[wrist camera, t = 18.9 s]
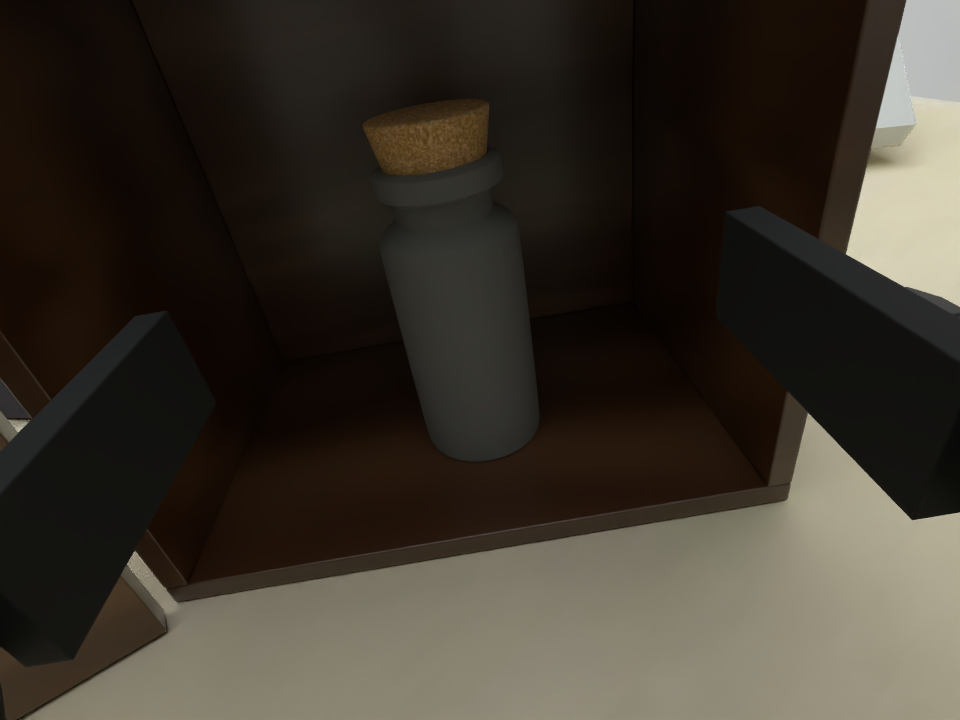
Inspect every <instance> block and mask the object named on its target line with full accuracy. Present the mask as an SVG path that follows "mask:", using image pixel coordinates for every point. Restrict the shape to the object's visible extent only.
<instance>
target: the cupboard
mask: <svg viewBox="0 0 960 720" xmlns="http://www.w3.org/2000/svg"><path fill="white" fill-rule="evenodd" d="M905 3H906V0H0V379H1V381H2V382H3V383H4V384H5V386H6V387H7V388H8V390H9V391H10V392H11V393H12V395H13V396H14V397H15V398H16V400H17V401H18V402H19V404H20V405H21V406H22V407H23V409H24V410H25V411H26V412H27V414H28V415H29V416H30V418H31V419H33V418H34V417H35V416H36V415H37V414H38V413H39V412H40V411H41V410H42V409H43V408H44V407H45V406H46V405H47V404H48V403H49V402H50V401H51V400H52V399H53V398H54V397H55V396H56V395H57V394H58V393H59V392H60V391H61V390H62V389H63V388H64V387H65V386H66V385H67V384H68V383H69V382H70V381H71V380H72V379H73V378H74V377H75V376H76V375H77V374H78V373H79V372H80V371H81V370H82V369H83V368H84V367H85V366H86V365H87V364H88V363H89V362H90V361H91V360H92V359H93V358H94V357H95V356H96V355H97V354H98V353H99V352H100V351H101V350H102V349H103V348H104V347H105V346H106V345H107V344H108V343H109V342H110V341H111V340H112V339H113V338H114V337H115V336H116V335H117V334H118V333H119V332H120V331H121V330H122V329H123V328H124V327H125V326H126V325H127V324H128V323H129V322H130V321H131V320H132V319H133V318H134V317H135V316H139V315H145V314H151V313H156V312H162V311H168V313H169V315H170V317H171V319H172V321H173V322H174V324H175V326H176V328H177V330H178V332H179V334H180V335H181V337H182V339H183V341H184V343H185V345H186V347H187V348H188V350H189V352H190V354H191V356H192V358H193V360H194V361H195V363H196V365H197V367H198V369H199V371H200V373H201V374H202V376H203V378H204V380H205V382H206V384H207V386H208V387H209V389H210V391H211V393H212V395H213V397H214V399H215V401H216V402H217V404H216V406H215V407H214V409H213V411H212V413H211V415H210V416H209V418H208V420H207V422H206V424H205V425H204V427H203V429H202V431H201V432H200V434H199V436H198V438H197V440H196V441H195V443H194V445H193V447H192V449H191V450H190V452H189V454H188V456H187V458H186V459H185V461H184V463H183V465H182V466H181V468H180V470H179V472H178V474H177V475H176V477H175V479H174V481H173V483H172V484H171V486H170V488H169V490H168V491H167V493H166V495H165V497H164V499H163V500H162V502H161V504H160V506H159V508H158V509H157V511H156V513H155V515H154V517H153V518H152V520H151V522H150V524H149V525H148V527H147V529H146V531H145V533H144V534H143V536H142V538H141V540H140V542H139V543H138V545H137V547H136V549H135V551H136V552H137V553H138V555H139V556H140V557H141V559H142V560H143V561H144V562H145V564H146V565H147V566H148V567H149V569H150V570H151V571H152V572H153V574H154V575H155V576H156V578H157V579H158V580H159V581H160V583H161V584H162V585H163V586H164V588H166V590H167V591H168V592H169V594H170V595H171V596H172V597H173V599H174V600H175V601H177V602H179V601H185V600H191V599H197V598H203V597H208V596H214V595H220V594H226V593H232V592H238V591H244V590H250V589H256V588H262V587H268V586H274V585H280V584H286V583H292V582H298V581H304V580H310V579H316V578H322V577H328V576H334V575H340V574H346V573H352V572H358V571H364V570H370V569H376V568H382V567H388V566H394V565H400V564H406V563H411V562H417V561H423V560H429V559H435V558H441V557H447V556H453V555H459V554H465V553H471V552H477V551H483V550H489V549H495V548H501V547H507V546H513V545H519V544H525V543H531V542H537V541H543V540H549V539H555V538H561V537H567V536H573V535H579V534H585V533H591V532H597V531H603V530H609V529H614V528H620V527H626V526H632V525H638V524H644V523H650V522H656V521H662V520H668V519H674V518H680V517H686V516H692V515H698V514H704V513H710V512H716V511H722V510H728V509H734V508H740V507H746V506H752V505H758V504H764V503H770V502H776V501H782V500H786V499H787V498H788V493H789V489H790V485H791V484H790V483H791V481H792V477H793V473H794V469H795V464H796V460H797V456H798V452H799V448H800V443H801V439H802V435H803V431H804V427H805V423H806V418H807V414H808V412H807V411H806V410H805V409H804V408H803V407H802V406H801V405H800V404H799V403H798V401H797V400H796V399H795V398H794V397H793V396H792V395H791V394H790V393H789V392H788V391H787V390H786V389H785V388H784V387H783V386H782V385H781V384H780V383H779V382H778V381H777V380H776V379H775V378H774V377H773V376H772V375H771V374H770V373H769V372H768V370H767V369H766V368H765V367H764V366H763V365H762V364H761V363H760V362H759V361H758V360H757V359H756V358H755V357H754V356H753V355H752V354H751V353H750V352H749V351H748V350H747V349H746V348H745V347H744V346H743V345H742V344H741V343H740V342H739V340H738V339H737V338H736V337H735V336H734V335H733V334H732V333H731V332H730V331H729V330H728V329H727V328H726V327H725V326H724V325H723V324H722V323H721V322H720V321H719V320H718V319H717V318H716V317H715V315H716V305H717V295H718V285H719V275H720V265H721V255H722V245H723V235H724V225H725V215H726V212H727V211H733V210H738V209H744V208H750V207H755V206H760V207H762V208H764V209H766V210H767V211H769V212H771V213H773V214H775V215H776V216H778V217H780V218H782V219H783V220H785V221H787V222H789V223H791V224H792V225H794V226H796V227H798V228H800V229H801V230H803V231H805V232H807V233H808V234H810V235H812V236H814V237H816V238H817V239H819V240H821V241H823V242H825V243H826V244H828V245H830V246H832V247H833V248H835V249H837V250H839V251H841V252H842V253H844V254H846V251H847V247H848V242H849V238H850V234H851V230H852V226H853V222H854V217H855V213H856V209H857V205H858V201H859V196H860V192H861V188H862V184H863V180H864V175H865V171H866V167H867V163H868V159H869V155H870V150H871V146H872V142H873V138H874V134H875V129H876V125H877V121H878V117H879V113H880V108H881V104H882V100H883V96H884V92H885V87H886V83H887V79H888V75H889V71H890V67H891V62H892V58H893V54H894V50H895V46H896V41H897V37H898V33H899V29H900V25H901V20H902V16H903V12H904V8H905ZM454 99H482V100H486V101H488V103H489V120H488V138H487V147H491V148H494V149H496V150H498V151H499V152H500V154H501V159H502V166H503V178H502V179H501V181H500V182H499V183H498V184H497V185H495V186H494V187H492V188H491V196H492V200H493V202H496V203H498V204H501V205H503V206H504V207H506V208H507V209H509V210H510V211H511V212H512V213H513V214H514V215H515V216H516V218H517V221H518V227H519V235H520V242H521V250H522V258H523V266H524V275H525V283H526V292H527V301H528V310H529V319H530V328H531V337H532V345H533V354H534V363H535V373H536V383H537V393H538V403H539V413H540V418H539V425H538V429H537V431H536V433H535V434H534V436H533V437H532V439H531V440H530V441H529V442H528V443H527V444H526V445H524V446H523V447H522V448H521V449H519V450H517V451H516V452H514V453H512V454H510V455H508V456H505V457H503V458H498V459H494V460H490V461H482V462H468V461H461V460H457V459H454V458H451V457H448V456H447V455H445V454H443V453H442V452H440V451H439V450H438V449H437V448H436V447H435V445H434V444H433V443H432V441H431V439H430V436H429V433H428V430H427V426H426V423H425V419H424V415H423V412H422V408H421V404H420V401H419V397H418V393H417V390H416V386H415V382H414V379H413V375H412V371H411V367H410V364H409V360H408V356H407V352H406V349H405V345H404V341H403V337H402V334H401V330H400V326H399V322H398V319H397V315H396V311H395V307H394V303H393V300H392V296H391V292H390V288H389V284H388V280H387V277H386V273H385V269H384V265H383V261H382V257H381V252H380V247H379V240H380V238H381V236H382V234H383V232H384V231H385V229H386V228H387V227H388V226H389V225H390V224H391V223H392V222H393V221H394V220H395V214H394V210H393V206H387V205H384V204H382V203H380V202H379V201H377V199H376V197H375V194H374V190H373V187H372V183H371V175H372V173H373V172H374V171H375V170H376V169H377V168H379V167H380V165H379V163H378V160H377V158H376V156H375V154H374V152H373V149H372V147H371V145H370V143H369V141H368V138H367V136H366V134H365V132H364V129H363V123H364V122H365V121H367V120H368V119H370V118H372V117H375V116H378V115H381V114H384V113H387V112H390V111H394V110H397V109H401V108H406V107H411V106H415V105H420V104H425V103H432V102H439V101H445V100H454Z"/></svg>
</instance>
